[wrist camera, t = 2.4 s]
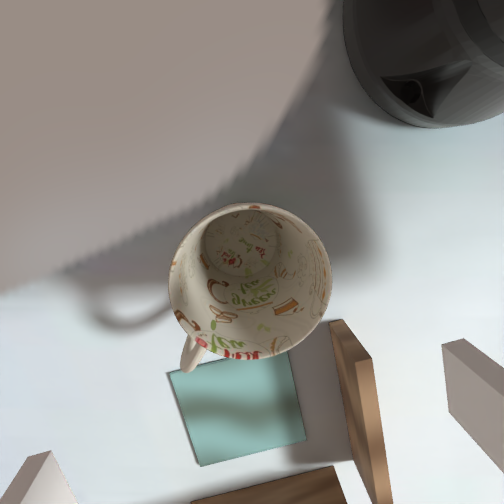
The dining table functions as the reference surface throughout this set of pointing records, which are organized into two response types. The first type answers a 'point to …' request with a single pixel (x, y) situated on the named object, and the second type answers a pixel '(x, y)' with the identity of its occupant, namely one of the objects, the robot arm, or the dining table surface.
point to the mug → (248, 283)
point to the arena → (282, 422)
